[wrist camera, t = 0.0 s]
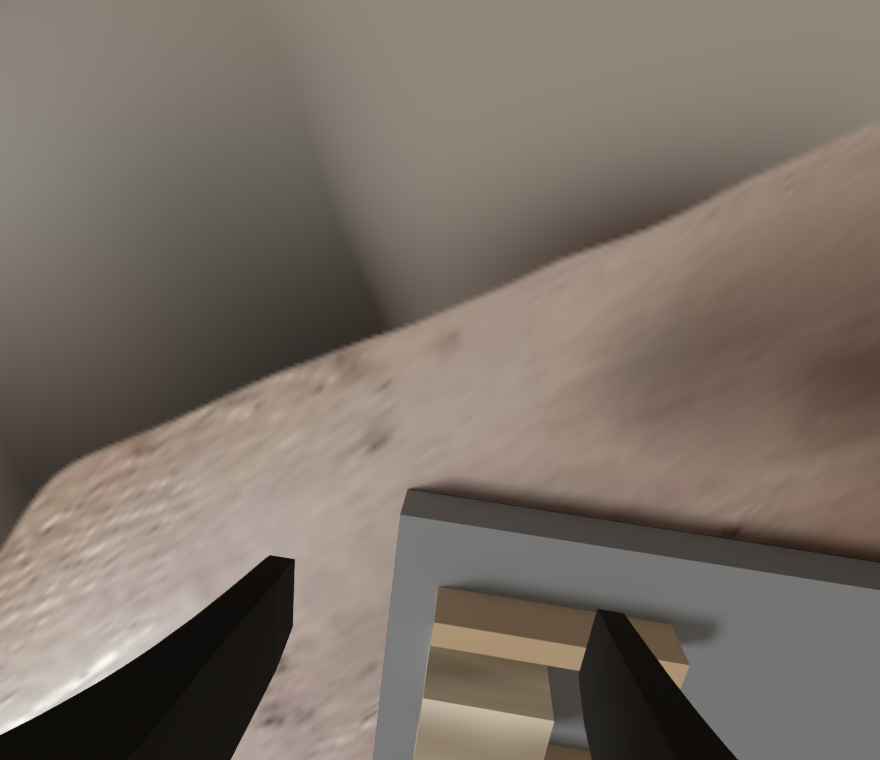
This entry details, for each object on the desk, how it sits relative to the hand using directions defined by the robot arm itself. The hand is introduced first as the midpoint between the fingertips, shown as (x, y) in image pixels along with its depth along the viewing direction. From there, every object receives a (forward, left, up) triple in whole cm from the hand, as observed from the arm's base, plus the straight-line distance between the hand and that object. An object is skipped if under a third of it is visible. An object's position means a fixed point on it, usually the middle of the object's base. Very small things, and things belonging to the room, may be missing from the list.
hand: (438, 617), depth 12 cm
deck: (-11, -15, -10) cm, 21 cm away
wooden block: (-11, -3, -8) cm, 14 cm away
